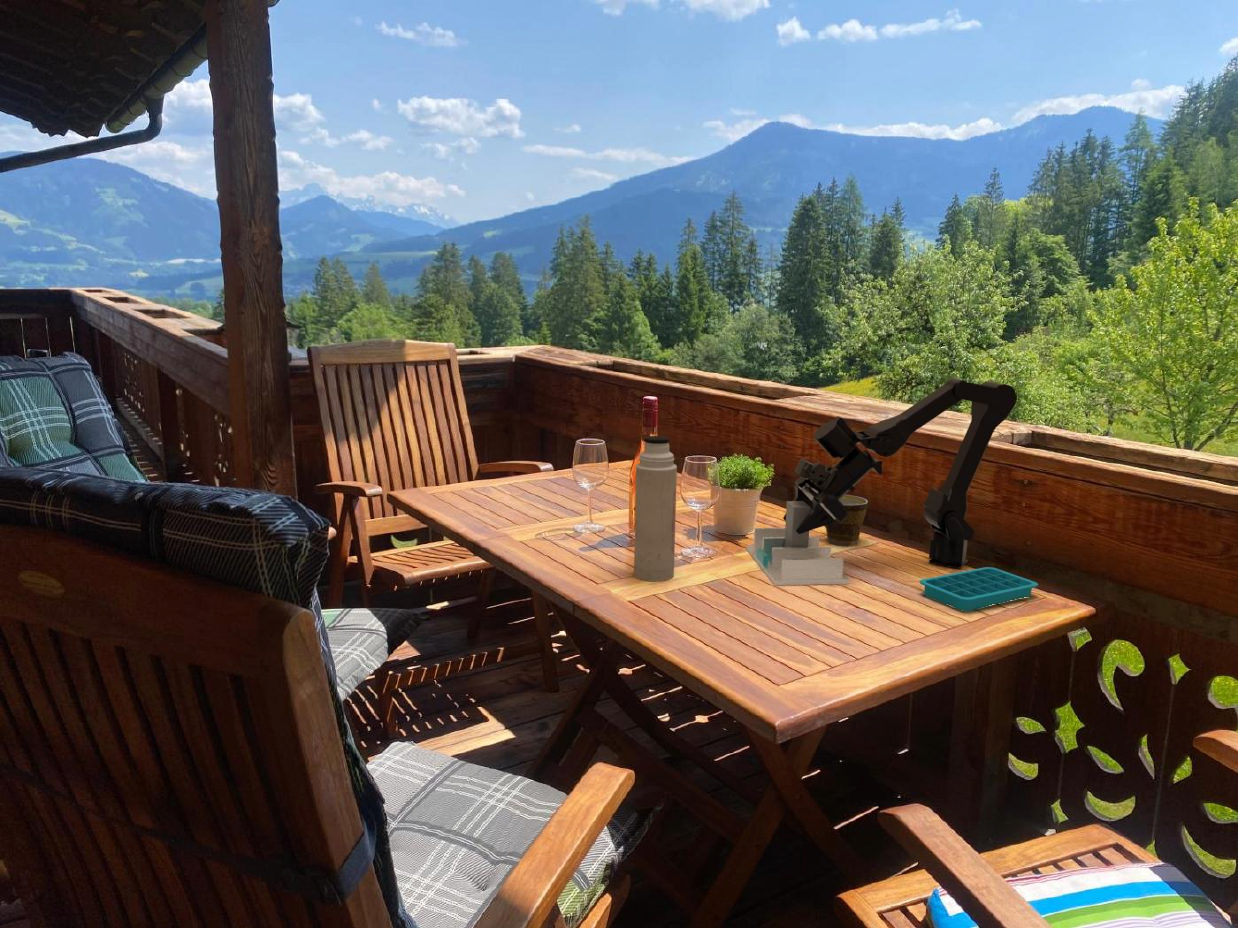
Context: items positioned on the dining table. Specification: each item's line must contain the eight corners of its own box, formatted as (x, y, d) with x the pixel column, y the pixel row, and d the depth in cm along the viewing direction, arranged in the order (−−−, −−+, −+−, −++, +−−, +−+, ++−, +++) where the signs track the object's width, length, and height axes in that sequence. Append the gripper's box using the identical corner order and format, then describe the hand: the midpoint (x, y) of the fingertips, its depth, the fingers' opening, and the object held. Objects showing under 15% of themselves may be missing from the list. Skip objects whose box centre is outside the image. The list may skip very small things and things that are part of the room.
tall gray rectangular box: (799, 556, 180) (803, 501, 178) (807, 563, 176) (810, 507, 173) (783, 556, 180) (786, 501, 178) (790, 564, 175) (793, 507, 173)
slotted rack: (812, 548, 190) (814, 526, 189) (849, 583, 167) (851, 559, 166) (746, 549, 189) (747, 527, 188) (774, 585, 166) (776, 560, 165)
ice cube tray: (914, 595, 163) (916, 580, 162) (988, 580, 172) (990, 566, 171) (964, 616, 153) (965, 600, 152) (1039, 599, 162) (1041, 584, 161)
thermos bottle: (676, 570, 174) (680, 434, 169) (670, 582, 167) (674, 441, 161) (637, 566, 176) (640, 432, 170) (630, 579, 168) (633, 439, 162)
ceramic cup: (860, 536, 200) (863, 495, 198) (868, 549, 190) (871, 505, 188) (804, 534, 201) (806, 493, 199) (809, 546, 191) (811, 503, 189)
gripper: (806, 438, 182) (753, 489, 184) (836, 455, 164) (777, 511, 165) (840, 474, 185) (787, 524, 186) (873, 494, 167) (814, 549, 168)
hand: (790, 526), depth 176 cm, fingers open, 9 cm apart
